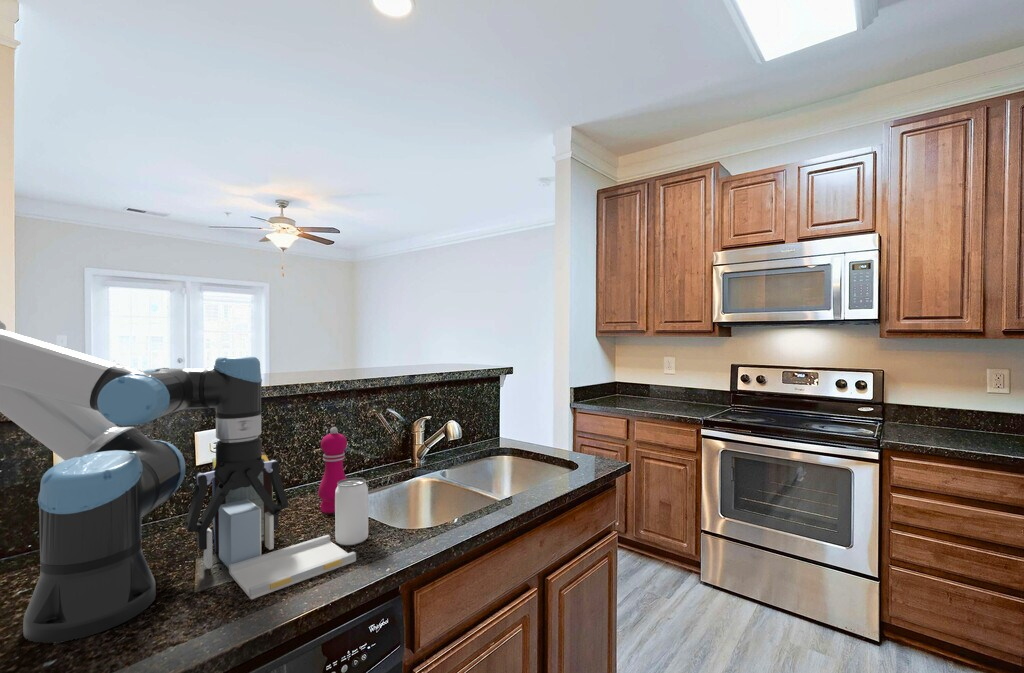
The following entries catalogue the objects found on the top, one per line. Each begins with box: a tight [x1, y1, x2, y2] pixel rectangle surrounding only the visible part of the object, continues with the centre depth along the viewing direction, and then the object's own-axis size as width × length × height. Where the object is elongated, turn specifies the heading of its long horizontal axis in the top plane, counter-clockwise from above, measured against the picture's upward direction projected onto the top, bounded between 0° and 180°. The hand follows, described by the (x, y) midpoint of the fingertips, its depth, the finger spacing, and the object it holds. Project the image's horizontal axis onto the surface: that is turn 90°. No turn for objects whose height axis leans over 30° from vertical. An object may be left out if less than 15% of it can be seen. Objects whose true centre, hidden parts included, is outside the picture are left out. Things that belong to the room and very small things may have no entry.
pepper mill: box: [317, 426, 348, 514], centre depth 116 cm, size 7×7×20 cm
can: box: [334, 477, 369, 547], centre depth 98 cm, size 6×6×12 cm
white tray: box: [228, 534, 357, 600], centre depth 87 cm, size 18×12×2 cm
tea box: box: [218, 499, 262, 569], centre depth 90 cm, size 8×5×10 cm, turn 45°
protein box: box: [211, 451, 274, 553], centre depth 102 cm, size 10×15×16 cm
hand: (239, 556), depth 90 cm, fingers open, 10 cm apart
